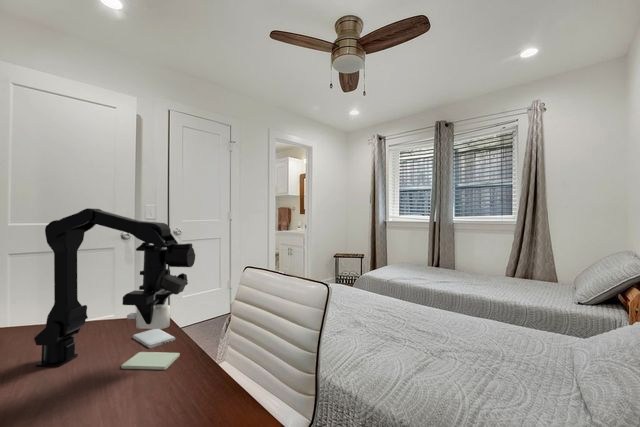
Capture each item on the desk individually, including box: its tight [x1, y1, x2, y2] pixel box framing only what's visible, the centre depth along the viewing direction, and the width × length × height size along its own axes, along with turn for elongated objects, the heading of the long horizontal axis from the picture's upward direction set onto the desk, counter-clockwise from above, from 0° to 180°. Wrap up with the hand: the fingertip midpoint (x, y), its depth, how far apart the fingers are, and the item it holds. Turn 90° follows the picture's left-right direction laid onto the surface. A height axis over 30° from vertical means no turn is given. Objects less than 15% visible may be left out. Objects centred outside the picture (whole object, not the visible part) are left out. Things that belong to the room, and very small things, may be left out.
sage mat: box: [121, 351, 181, 371], centre depth 83 cm, size 12×8×1 cm, turn 90°
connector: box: [126, 304, 171, 330], centre depth 83 cm, size 11×4×6 cm, turn 90°
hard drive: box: [132, 329, 176, 349], centre depth 98 cm, size 2×8×12 cm
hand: (153, 321), depth 83 cm, fingers closed on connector, 4 cm apart
